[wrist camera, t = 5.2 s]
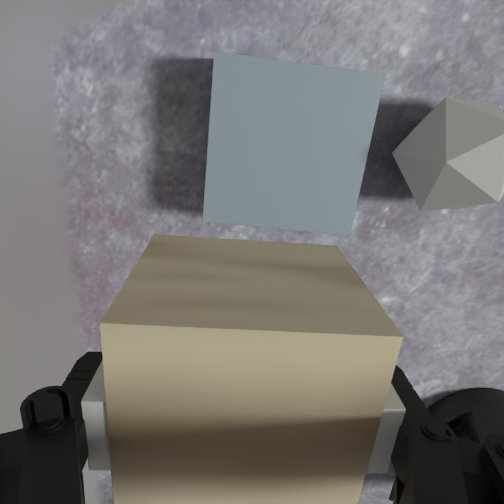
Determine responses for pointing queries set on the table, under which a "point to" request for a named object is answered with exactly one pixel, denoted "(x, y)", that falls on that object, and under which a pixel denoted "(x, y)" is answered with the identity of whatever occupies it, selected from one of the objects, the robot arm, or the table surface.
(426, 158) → the die
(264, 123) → the plinth
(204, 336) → the maple block
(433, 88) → the table surface
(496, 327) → the table surface
